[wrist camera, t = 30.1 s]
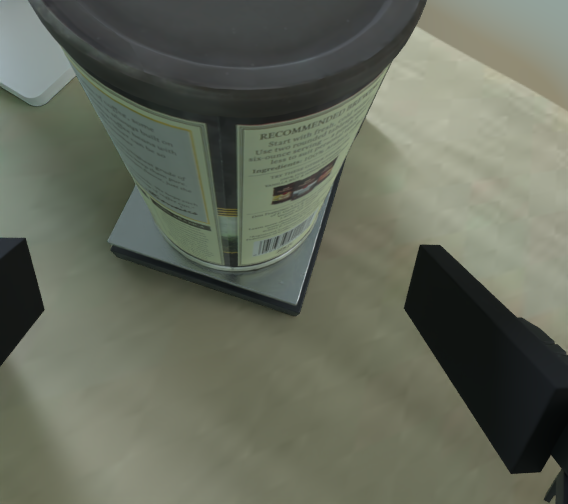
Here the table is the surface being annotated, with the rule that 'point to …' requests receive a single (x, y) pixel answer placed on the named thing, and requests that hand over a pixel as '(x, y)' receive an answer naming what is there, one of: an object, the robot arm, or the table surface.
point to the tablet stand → (30, 55)
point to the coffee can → (232, 107)
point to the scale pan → (266, 281)
